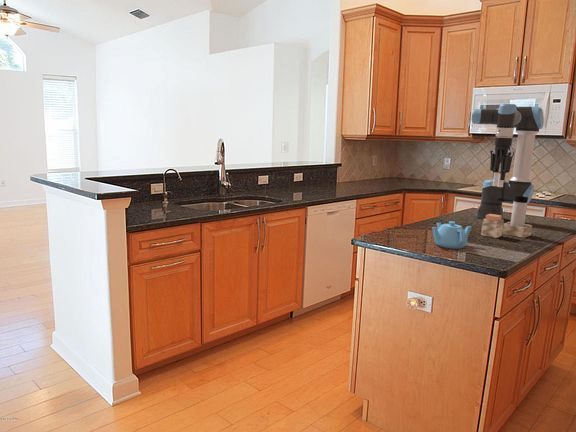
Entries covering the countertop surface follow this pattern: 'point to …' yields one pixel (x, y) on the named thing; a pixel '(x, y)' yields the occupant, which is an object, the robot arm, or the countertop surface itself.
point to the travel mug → (519, 211)
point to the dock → (504, 229)
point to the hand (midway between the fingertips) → (497, 186)
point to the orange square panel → (493, 217)
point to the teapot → (450, 235)
